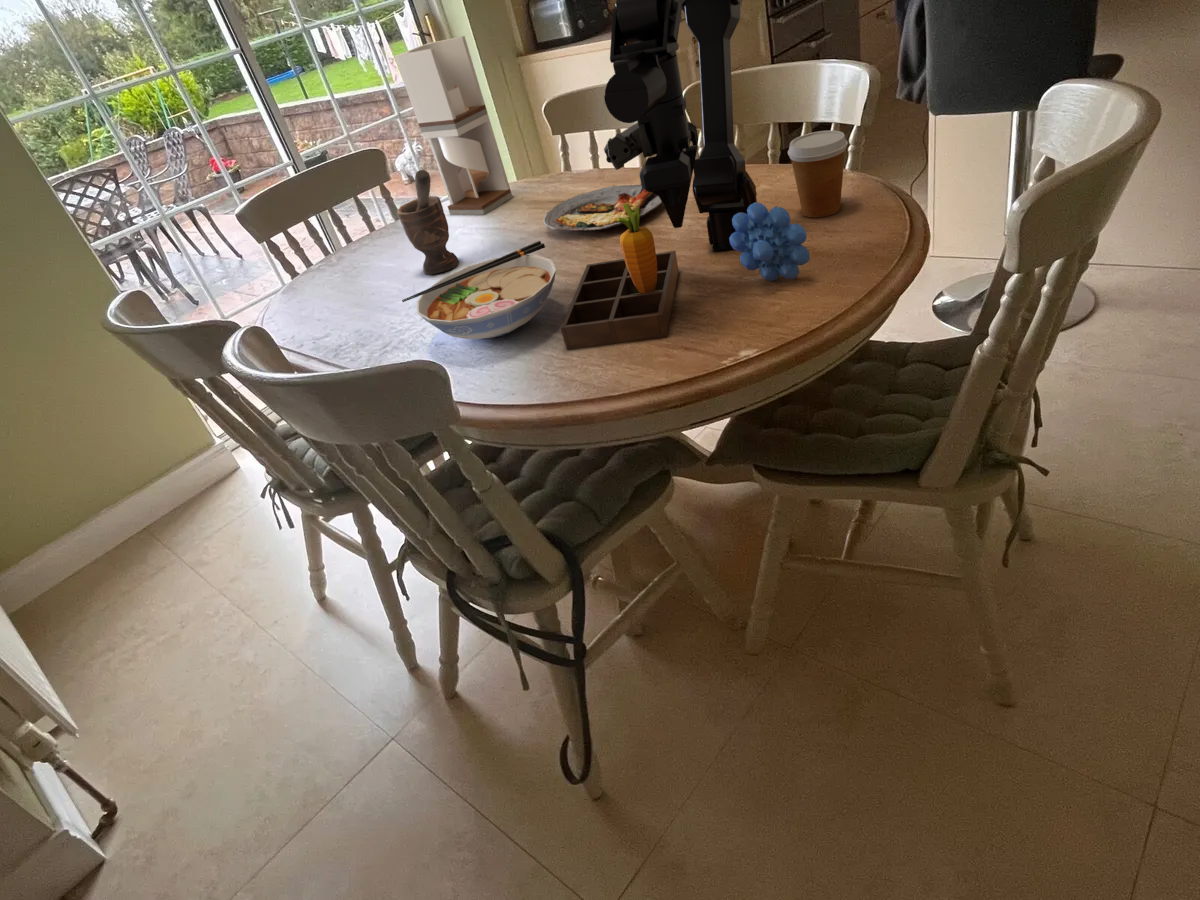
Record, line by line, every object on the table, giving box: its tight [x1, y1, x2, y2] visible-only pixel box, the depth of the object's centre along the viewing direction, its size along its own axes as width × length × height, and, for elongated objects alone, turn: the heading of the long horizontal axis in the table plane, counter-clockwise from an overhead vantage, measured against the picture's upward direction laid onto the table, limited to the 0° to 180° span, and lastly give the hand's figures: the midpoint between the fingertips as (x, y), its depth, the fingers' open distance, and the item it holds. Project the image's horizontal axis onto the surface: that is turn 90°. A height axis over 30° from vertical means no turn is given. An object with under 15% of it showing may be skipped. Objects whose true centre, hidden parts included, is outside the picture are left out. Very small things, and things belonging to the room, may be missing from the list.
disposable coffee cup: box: [787, 129, 849, 218], centre depth 125 cm, size 10×10×12 cm
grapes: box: [729, 202, 811, 282], centre depth 107 cm, size 12×7×12 cm, turn 62°
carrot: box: [617, 203, 657, 293], centre depth 109 cm, size 5×5×15 cm
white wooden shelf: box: [394, 35, 513, 216], centre depth 169 cm, size 11×11×35 cm
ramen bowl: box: [401, 240, 557, 340], centre depth 118 cm, size 25×23×8 cm
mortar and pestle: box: [396, 169, 459, 276], centre depth 144 cm, size 12×9×20 cm
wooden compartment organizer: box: [560, 250, 680, 350], centre depth 114 cm, size 15×22×4 cm
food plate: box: [543, 184, 663, 232], centre depth 151 cm, size 25×23×4 cm
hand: (680, 215), depth 106 cm, fingers open, 9 cm apart
